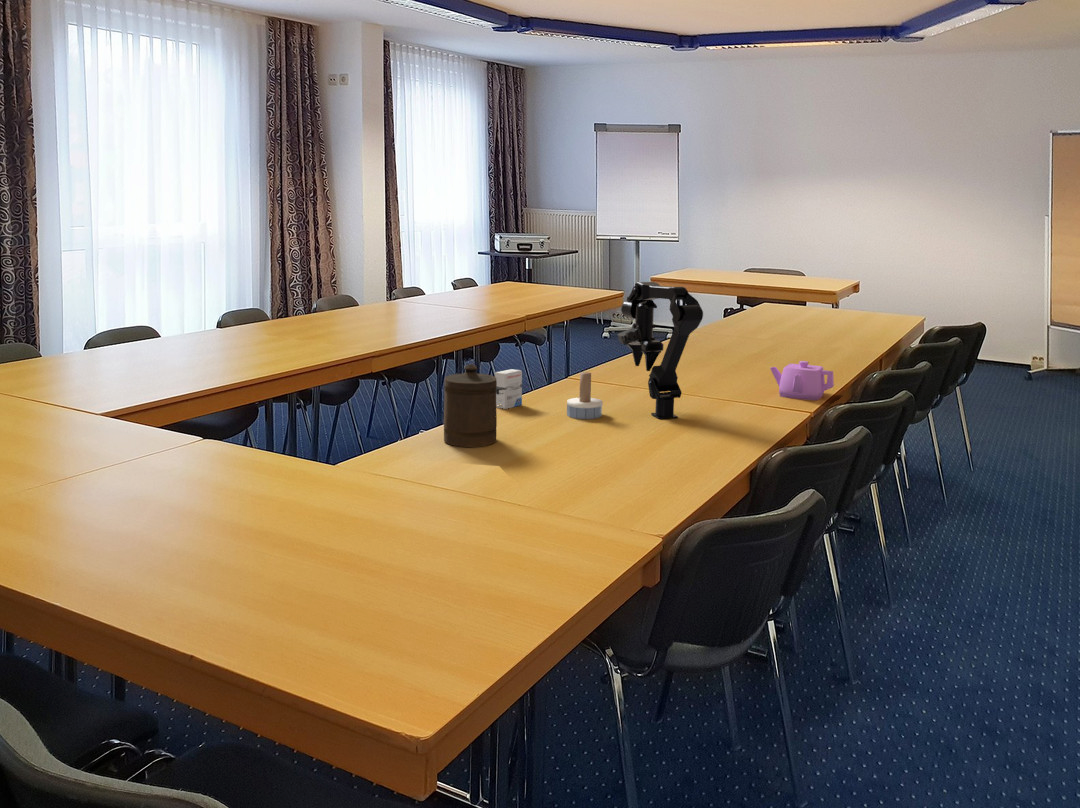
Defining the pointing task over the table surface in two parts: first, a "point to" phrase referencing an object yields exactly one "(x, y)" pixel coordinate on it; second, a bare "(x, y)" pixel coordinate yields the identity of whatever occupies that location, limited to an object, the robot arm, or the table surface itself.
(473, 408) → the wooden container
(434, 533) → the table surface
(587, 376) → the lid
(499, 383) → the ink box
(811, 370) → the teakettle
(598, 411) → the bowl
